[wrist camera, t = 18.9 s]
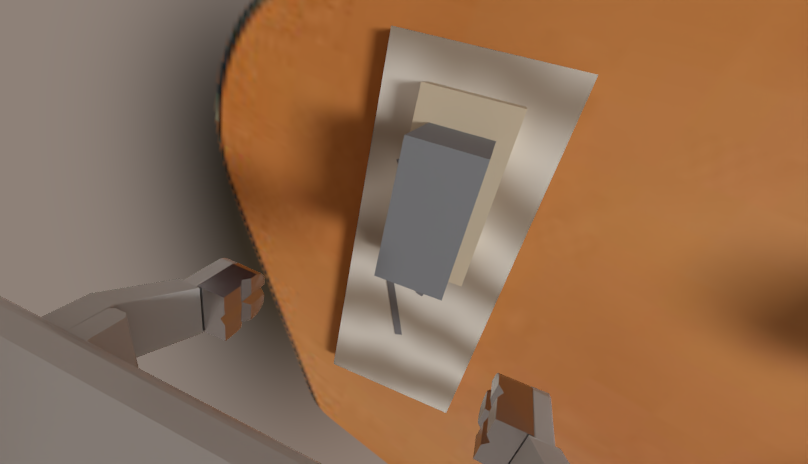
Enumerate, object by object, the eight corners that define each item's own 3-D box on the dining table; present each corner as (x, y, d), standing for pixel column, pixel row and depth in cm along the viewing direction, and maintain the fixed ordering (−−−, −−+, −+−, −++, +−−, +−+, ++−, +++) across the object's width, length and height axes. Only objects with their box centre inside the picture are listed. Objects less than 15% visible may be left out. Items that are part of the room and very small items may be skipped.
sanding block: (465, 272, 25) (448, 334, 19) (390, 246, 26) (353, 296, 20) (526, 106, 20) (530, 118, 14) (429, 81, 21) (392, 82, 15)
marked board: (448, 399, 33) (445, 413, 32) (340, 353, 35) (333, 364, 34) (593, 74, 19) (598, 74, 18) (399, 28, 21) (390, 25, 20)
